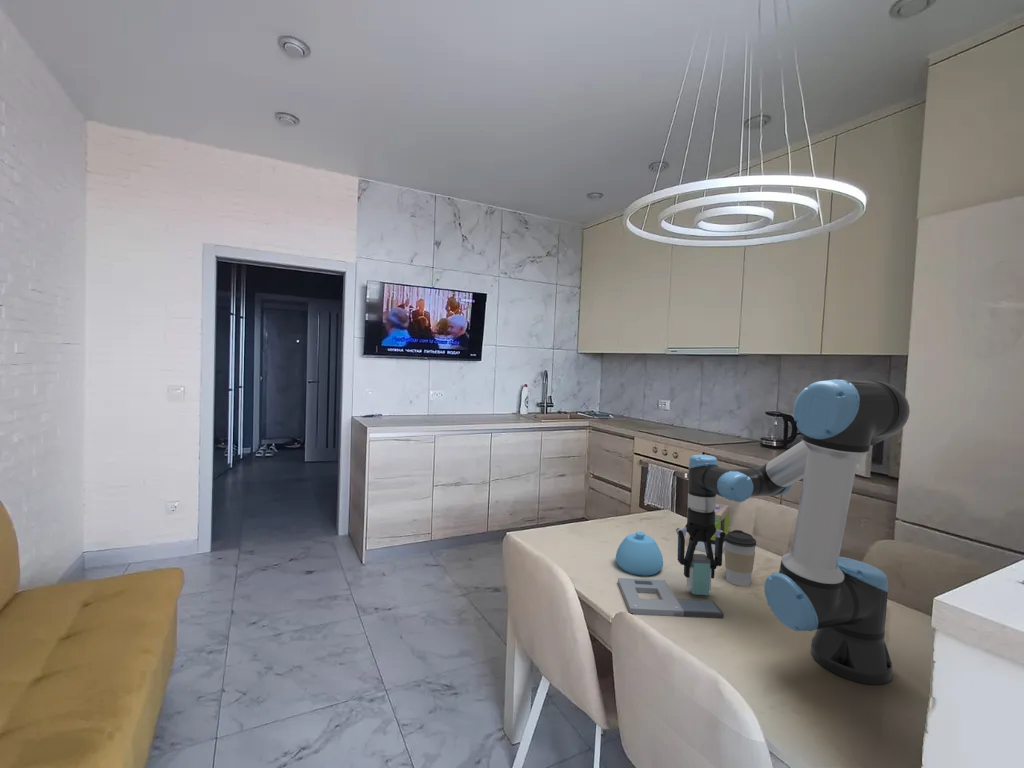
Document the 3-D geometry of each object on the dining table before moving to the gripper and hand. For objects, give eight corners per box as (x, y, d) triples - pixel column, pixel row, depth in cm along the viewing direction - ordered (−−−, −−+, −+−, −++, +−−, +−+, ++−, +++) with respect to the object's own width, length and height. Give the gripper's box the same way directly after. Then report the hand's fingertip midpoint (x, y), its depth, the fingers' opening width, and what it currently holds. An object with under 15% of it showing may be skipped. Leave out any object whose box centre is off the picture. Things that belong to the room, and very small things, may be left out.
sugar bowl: (645, 582, 147) (647, 545, 146) (606, 565, 158) (607, 531, 158) (671, 569, 157) (673, 534, 156) (632, 554, 168) (634, 521, 167)
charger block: (709, 594, 137) (710, 560, 137) (693, 594, 137) (694, 559, 137) (703, 587, 142) (704, 554, 141) (688, 587, 142) (689, 553, 141)
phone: (723, 618, 127) (723, 613, 127) (674, 615, 127) (674, 611, 127) (713, 604, 134) (713, 600, 134) (666, 602, 134) (666, 598, 134)
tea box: (701, 537, 186) (703, 500, 186) (729, 544, 180) (731, 505, 180) (690, 549, 174) (692, 509, 173) (720, 556, 168) (722, 515, 168)
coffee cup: (758, 589, 144) (760, 540, 143) (725, 585, 146) (728, 537, 145) (749, 576, 153) (752, 530, 152) (719, 573, 155) (721, 527, 154)
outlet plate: (683, 616, 127) (683, 610, 127) (630, 613, 128) (630, 608, 128) (664, 584, 145) (664, 579, 145) (617, 582, 146) (618, 577, 146)
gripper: (726, 506, 142) (723, 583, 143) (666, 504, 143) (664, 581, 143) (737, 513, 135) (734, 595, 135) (674, 511, 135) (671, 593, 136)
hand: (698, 588), depth 139 cm, fingers closed on charger block, 4 cm apart
